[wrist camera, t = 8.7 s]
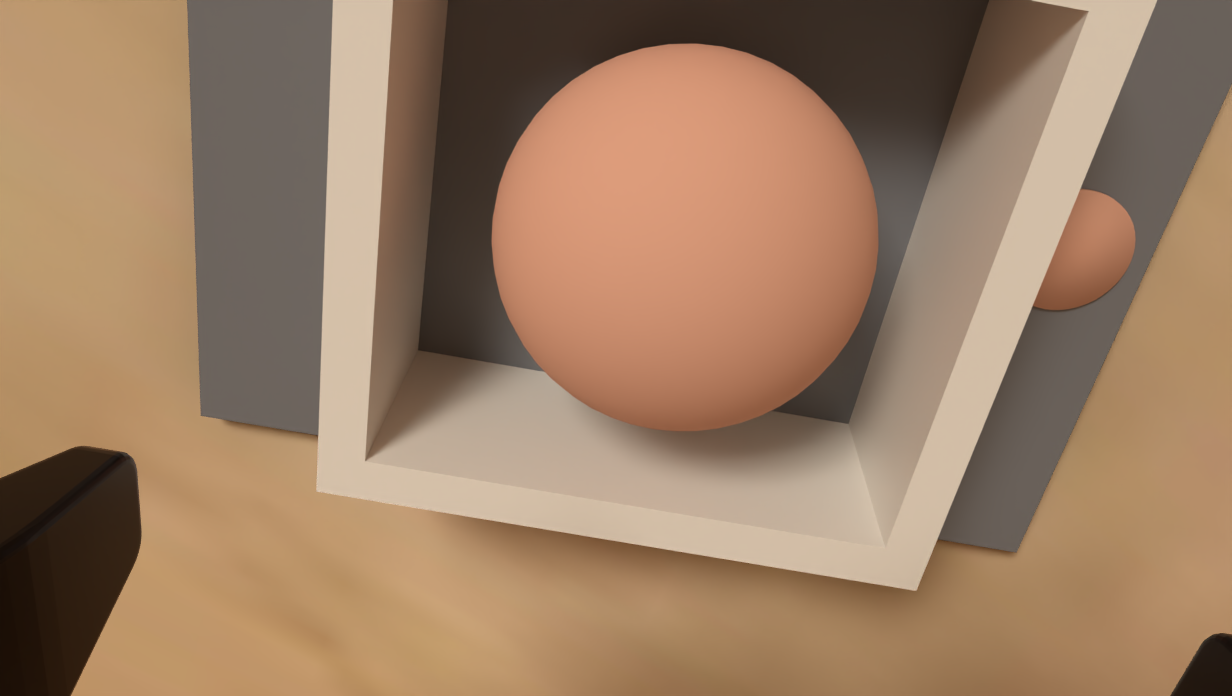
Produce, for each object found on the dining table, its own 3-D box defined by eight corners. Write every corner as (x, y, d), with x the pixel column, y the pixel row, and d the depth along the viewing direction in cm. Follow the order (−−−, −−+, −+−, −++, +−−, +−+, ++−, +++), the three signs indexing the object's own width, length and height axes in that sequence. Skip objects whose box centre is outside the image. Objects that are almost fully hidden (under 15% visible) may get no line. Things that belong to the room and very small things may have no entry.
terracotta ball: (881, 44, 17) (988, 147, 12) (794, 346, 20) (849, 537, 15) (537, -19, 17) (488, 58, 12) (497, 298, 20) (443, 477, 14)
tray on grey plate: (1315, -146, 16) (1533, -135, 12) (1007, 535, 23) (1082, 692, 18) (192, -366, 15) (19, -434, 11) (212, 401, 22) (107, 533, 18)
